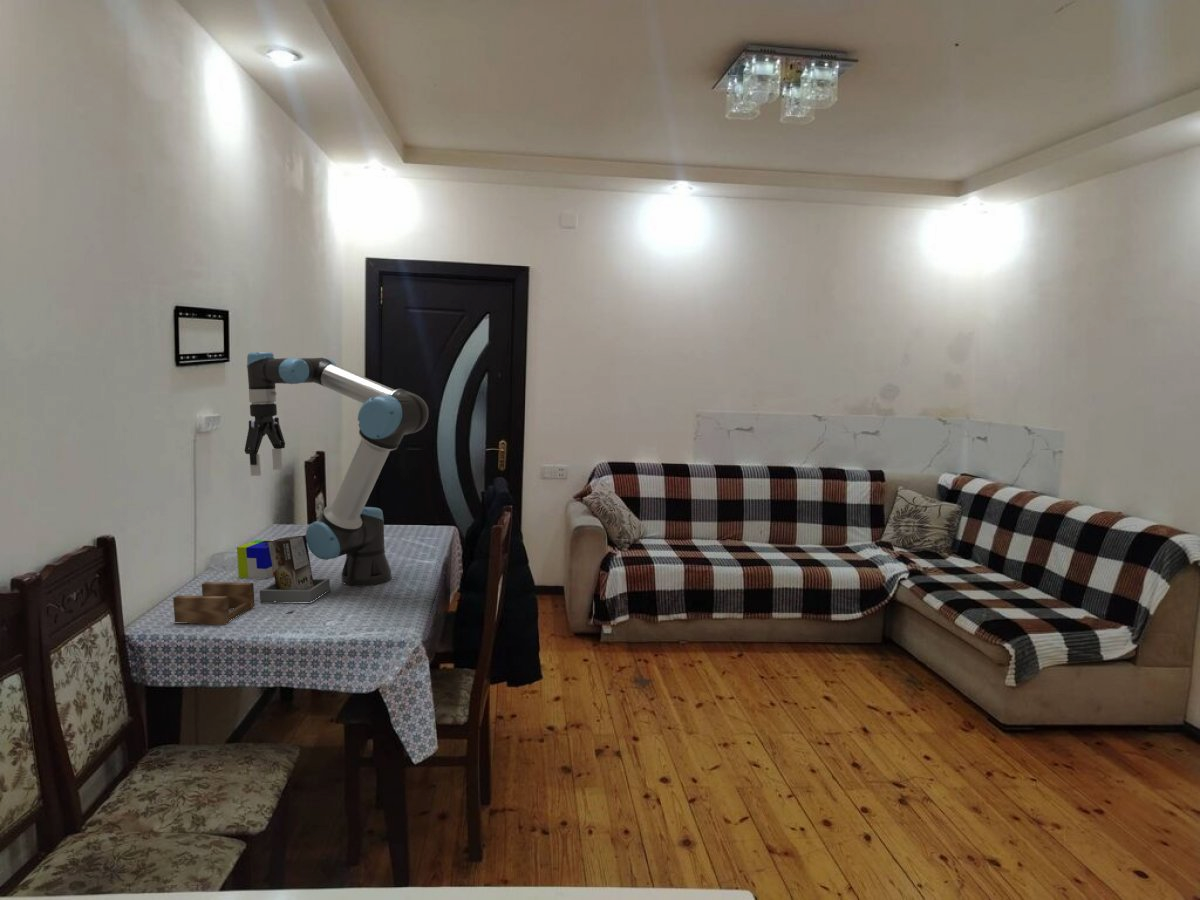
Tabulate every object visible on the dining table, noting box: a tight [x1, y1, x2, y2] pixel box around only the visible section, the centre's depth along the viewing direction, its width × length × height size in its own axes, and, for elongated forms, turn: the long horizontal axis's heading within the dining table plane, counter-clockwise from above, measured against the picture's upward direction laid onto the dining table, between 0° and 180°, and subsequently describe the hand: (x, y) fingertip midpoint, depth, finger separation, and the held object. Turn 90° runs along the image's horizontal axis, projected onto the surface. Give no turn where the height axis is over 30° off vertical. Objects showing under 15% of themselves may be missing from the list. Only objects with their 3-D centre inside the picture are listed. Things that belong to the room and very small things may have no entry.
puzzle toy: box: [236, 539, 274, 580], centre depth 263 cm, size 10×10×10 cm
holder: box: [172, 581, 256, 625], centre depth 220 cm, size 14×15×7 cm
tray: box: [259, 578, 331, 603], centre depth 237 cm, size 15×13×4 cm
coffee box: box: [268, 534, 314, 590], centre depth 237 cm, size 9×6×16 cm
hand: (267, 472), depth 249 cm, fingers open, 13 cm apart
